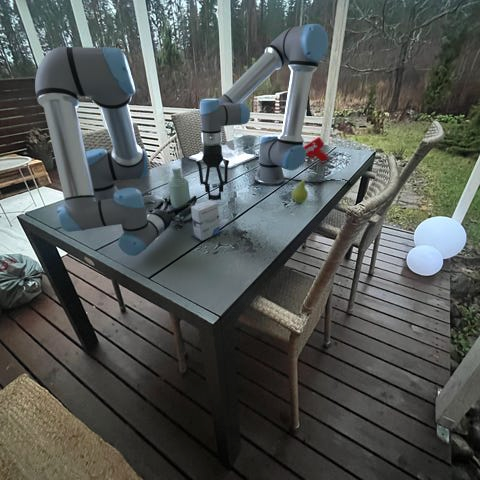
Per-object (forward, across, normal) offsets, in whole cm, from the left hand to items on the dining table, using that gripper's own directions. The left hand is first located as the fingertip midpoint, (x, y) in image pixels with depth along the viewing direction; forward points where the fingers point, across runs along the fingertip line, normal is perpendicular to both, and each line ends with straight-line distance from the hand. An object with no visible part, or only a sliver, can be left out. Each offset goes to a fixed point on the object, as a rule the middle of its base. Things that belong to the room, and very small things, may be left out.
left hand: (186, 197), depth 111 cm
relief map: (+77, -14, -6) cm, 79 cm away
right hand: (+10, +8, -4) cm, 13 cm away
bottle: (-5, 0, -6) cm, 8 cm away
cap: (+10, +8, -1) cm, 13 cm away
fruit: (+23, +44, -6) cm, 50 cm away
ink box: (-15, +15, -6) cm, 22 cm away
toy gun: (+86, +42, -6) cm, 96 cm away
